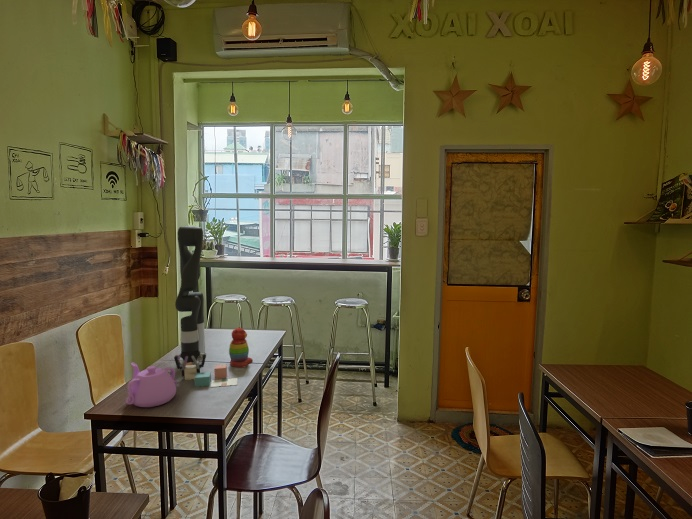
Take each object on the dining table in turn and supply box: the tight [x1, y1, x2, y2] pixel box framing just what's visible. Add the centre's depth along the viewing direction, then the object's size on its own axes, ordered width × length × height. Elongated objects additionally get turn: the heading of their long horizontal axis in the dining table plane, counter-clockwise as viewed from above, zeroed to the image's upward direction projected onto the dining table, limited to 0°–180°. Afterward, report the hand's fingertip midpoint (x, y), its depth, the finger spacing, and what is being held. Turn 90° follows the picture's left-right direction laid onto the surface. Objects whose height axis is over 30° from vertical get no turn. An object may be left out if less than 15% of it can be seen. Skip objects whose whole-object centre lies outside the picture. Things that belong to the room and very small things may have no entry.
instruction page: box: [210, 377, 239, 388], centre depth 193 cm, size 8×11×1 cm
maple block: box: [184, 364, 197, 381], centre depth 200 cm, size 5×5×5 cm
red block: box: [213, 363, 228, 380], centre depth 200 cm, size 5×5×5 cm
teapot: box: [125, 361, 178, 408], centre depth 175 cm, size 22×22×14 cm
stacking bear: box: [228, 326, 253, 368], centre depth 218 cm, size 11×10×18 cm
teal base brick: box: [194, 371, 212, 388], centre depth 192 cm, size 6×6×4 cm
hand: (191, 376), depth 200 cm, fingers closed on maple block, 5 cm apart
